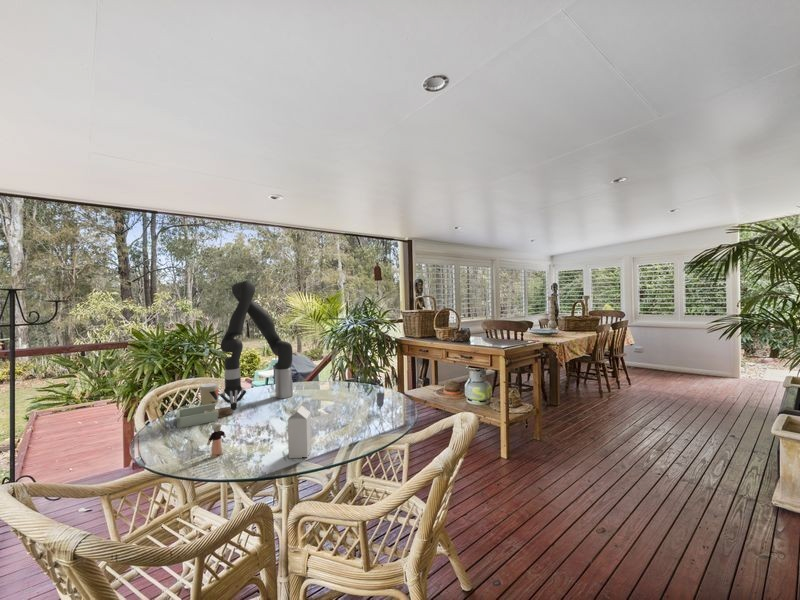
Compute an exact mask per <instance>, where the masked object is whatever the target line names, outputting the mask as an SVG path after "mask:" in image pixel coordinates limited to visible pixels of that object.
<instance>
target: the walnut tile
mask: <svg viewBox="0 0 800 600" xmlns="http://www.w3.org/2000/svg"><path fill="white" fill-rule="evenodd" d="M217 409H218V412H219V417H218V418H220V417H226V416H232V415H233V414H232V411H233V410H232V409H231V406H224V407H220V408H217Z"/></svg>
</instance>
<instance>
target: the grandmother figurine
mask: <svg viewBox="0 0 800 600" xmlns="http://www.w3.org/2000/svg"><path fill="white" fill-rule="evenodd" d="M221 428H222V423H220V422H218V421H217V422H216V421H215V422H214V423H213V424H212V426H211V429H212V430H213V432H212V433H211V435H210V436H209V438H208V441H207V443H206V445H207V446H210V445H211V443H212V445H211V452H210V453H211V454H210V457H211V458H212V459H215V458H217V457H218V456H221V455H223V453H224V452H223V447H222V438H223V439H225V438H226V437H227V435H226V433H225V432H224V431H223V430H221Z"/></svg>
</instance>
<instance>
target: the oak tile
mask: <svg viewBox="0 0 800 600" xmlns="http://www.w3.org/2000/svg"><path fill="white" fill-rule="evenodd" d="M218 409H219V408H215V409H213V410H208V411H204V413H208V412H214V411H217V415H218V418H220V417H219V412H218Z"/></svg>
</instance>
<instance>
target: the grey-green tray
mask: <svg viewBox="0 0 800 600" xmlns="http://www.w3.org/2000/svg"><path fill="white" fill-rule="evenodd" d="M213 409H216V407H215V403H214V404H208V405H202V404H201V405H197V406H191V407H185V408H179V409H176V429H181V428H186V427H191V426H196V425H201V424H202V425H203V424H206V423H211V422H216V421H217V422H218V420H219V417H218V415H217V411H214V412H208V413H204V411H208V410H213Z"/></svg>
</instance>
